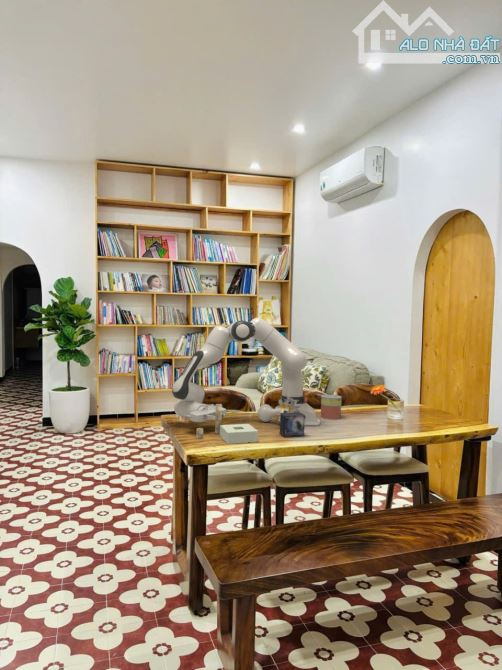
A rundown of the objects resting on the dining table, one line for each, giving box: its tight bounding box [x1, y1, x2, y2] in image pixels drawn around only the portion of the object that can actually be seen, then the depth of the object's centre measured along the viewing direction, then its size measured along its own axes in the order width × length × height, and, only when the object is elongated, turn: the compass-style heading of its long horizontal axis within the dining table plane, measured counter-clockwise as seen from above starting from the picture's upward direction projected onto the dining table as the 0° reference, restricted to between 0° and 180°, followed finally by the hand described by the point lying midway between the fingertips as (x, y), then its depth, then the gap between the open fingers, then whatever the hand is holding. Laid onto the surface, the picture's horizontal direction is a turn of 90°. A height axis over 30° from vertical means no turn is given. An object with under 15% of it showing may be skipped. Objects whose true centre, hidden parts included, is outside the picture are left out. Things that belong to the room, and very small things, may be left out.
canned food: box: [320, 394, 343, 421], centre depth 269 cm, size 11×11×12 cm
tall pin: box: [214, 403, 223, 435], centre depth 229 cm, size 3×3×14 cm
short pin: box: [195, 427, 204, 440], centre depth 220 cm, size 3×3×4 cm
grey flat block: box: [219, 423, 259, 445], centre depth 221 cm, size 14×14×5 cm
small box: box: [278, 412, 305, 438], centre depth 229 cm, size 11×6×10 cm, turn 106°
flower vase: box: [257, 394, 300, 423], centre depth 250 cm, size 13×18×25 cm
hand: (219, 417), depth 228 cm, fingers open, 4 cm apart
